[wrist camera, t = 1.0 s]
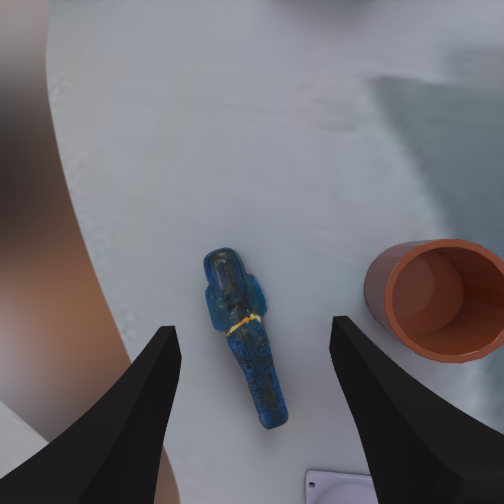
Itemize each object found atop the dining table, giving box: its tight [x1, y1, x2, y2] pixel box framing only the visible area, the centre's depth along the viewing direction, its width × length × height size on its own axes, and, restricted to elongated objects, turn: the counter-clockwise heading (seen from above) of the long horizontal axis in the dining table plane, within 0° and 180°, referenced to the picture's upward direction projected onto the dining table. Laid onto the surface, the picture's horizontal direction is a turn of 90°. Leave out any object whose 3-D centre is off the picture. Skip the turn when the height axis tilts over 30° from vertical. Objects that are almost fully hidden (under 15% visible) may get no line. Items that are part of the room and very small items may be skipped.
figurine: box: [203, 248, 288, 429], centre depth 24 cm, size 5×4×15 cm
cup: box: [364, 239, 504, 363], centre depth 20 cm, size 8×8×6 cm
